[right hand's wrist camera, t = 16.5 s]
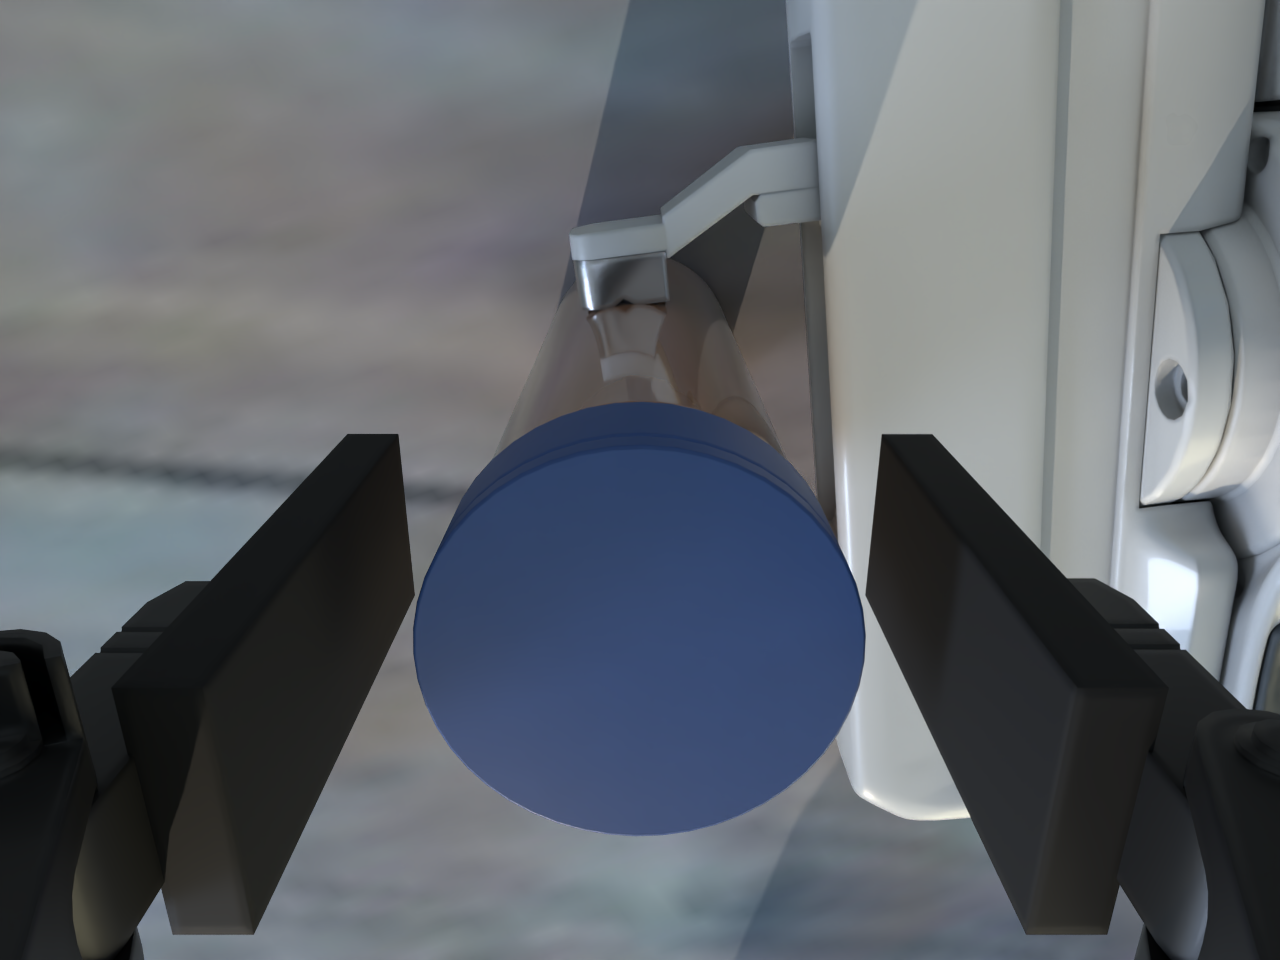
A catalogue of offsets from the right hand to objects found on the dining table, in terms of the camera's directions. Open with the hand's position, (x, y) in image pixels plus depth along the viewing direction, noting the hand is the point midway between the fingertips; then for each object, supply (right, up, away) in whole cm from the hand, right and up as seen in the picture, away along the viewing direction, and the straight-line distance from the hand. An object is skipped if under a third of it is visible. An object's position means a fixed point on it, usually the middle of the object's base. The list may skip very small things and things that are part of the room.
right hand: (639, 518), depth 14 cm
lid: (0, -1, -3) cm, 4 cm away
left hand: (-1, +2, +5) cm, 6 cm away
